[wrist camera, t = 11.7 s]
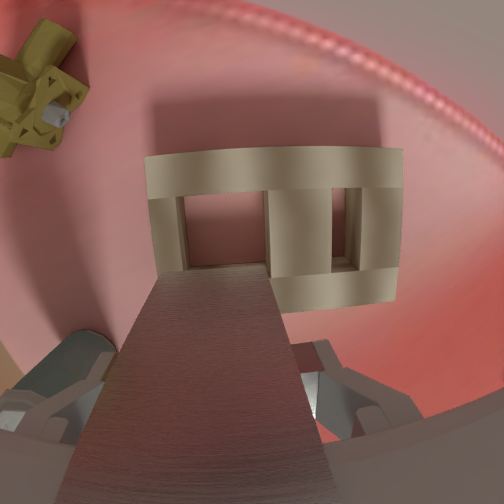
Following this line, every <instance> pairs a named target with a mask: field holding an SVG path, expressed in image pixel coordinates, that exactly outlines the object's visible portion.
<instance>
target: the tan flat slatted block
mask: <svg viewBox="0 0 504 504" xmlns="http://www.w3.org/2000/svg"><path fill="white" fill-rule="evenodd" d="M144 160H145V173H146V184H147V195H148V205H149V214H150V223H151V231H152V239H153V247H154V254H155V262H156V269H157V275H158V277H159V276H160V274H161V272H170V271H185V270H199V269H214V268H228V267H242V266H255V265H265V268H266V271H267V274H268V277H269V280H270V283H271V286H272V289H273V292H274V295H275V298H276V301H277V305H278V308H279V311H280V314H281V313H293V312H303V311H313V310H323V309H332V308H341V307H350V306H358V305H366V304H374V303H382V302H389V301H395V295H396V287H397V278H398V268H399V257H400V244H401V228H402V206H403V149H401V148H383V147H357V146H280V147H254V148H235V149H220V150H206V151H195V152H184V153H174V154H165V155H156V156H148V157H144ZM332 188H345V248H344V256H341V257H332ZM249 191H263V200H264V223H265V247H266V262H258V263H243V264H228V265H213V266H197V267H190V259H189V249H188V240H187V230H186V220H185V209H184V197H183V196H192V195H205V194H218V193H233V192H249Z"/></svg>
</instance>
